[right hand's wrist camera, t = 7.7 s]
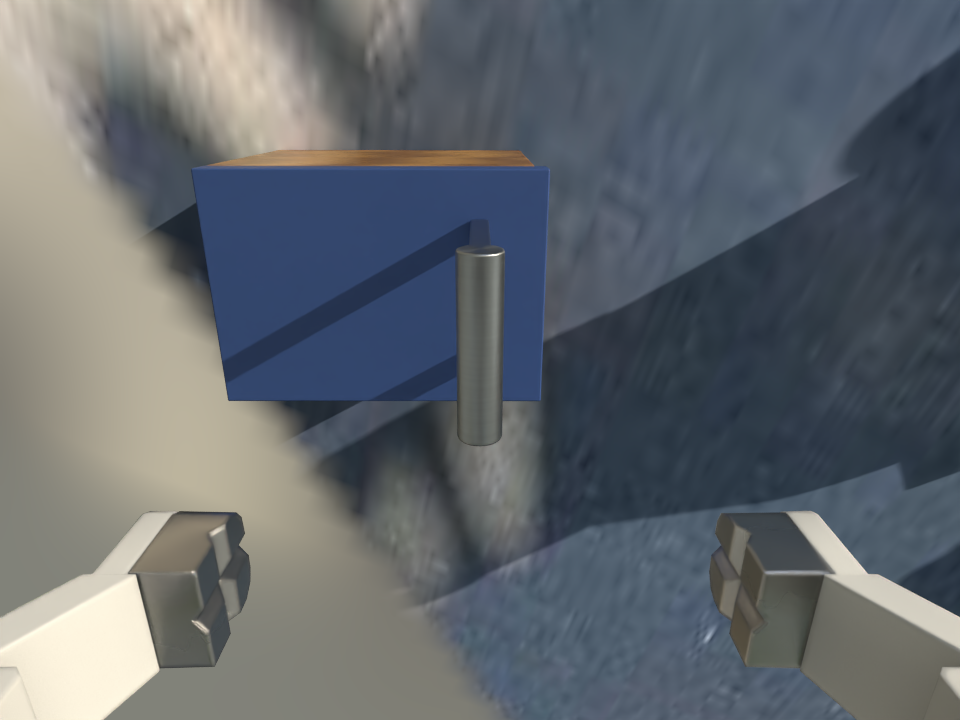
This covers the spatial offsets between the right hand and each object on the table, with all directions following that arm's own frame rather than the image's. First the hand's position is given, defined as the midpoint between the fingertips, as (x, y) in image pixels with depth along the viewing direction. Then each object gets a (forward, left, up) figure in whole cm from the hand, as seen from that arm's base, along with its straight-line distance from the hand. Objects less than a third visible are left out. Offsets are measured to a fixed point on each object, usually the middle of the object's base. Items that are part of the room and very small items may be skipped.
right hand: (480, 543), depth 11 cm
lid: (+2, +4, -17) cm, 17 cm away
